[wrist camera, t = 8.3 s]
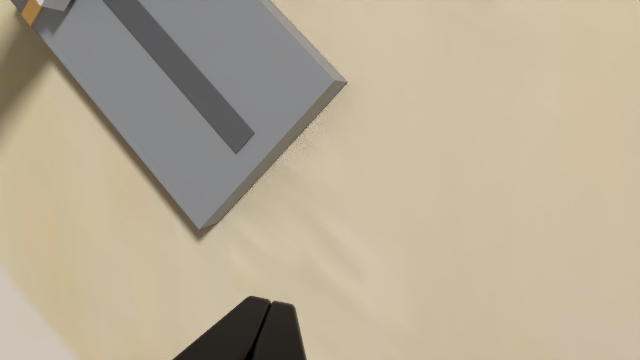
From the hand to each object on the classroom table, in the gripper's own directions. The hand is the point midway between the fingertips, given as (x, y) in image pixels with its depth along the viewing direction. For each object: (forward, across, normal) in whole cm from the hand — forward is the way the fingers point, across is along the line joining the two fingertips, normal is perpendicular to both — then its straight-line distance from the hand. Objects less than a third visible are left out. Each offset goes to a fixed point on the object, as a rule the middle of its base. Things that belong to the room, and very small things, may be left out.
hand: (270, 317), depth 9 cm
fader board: (+16, +9, -1) cm, 18 cm away
